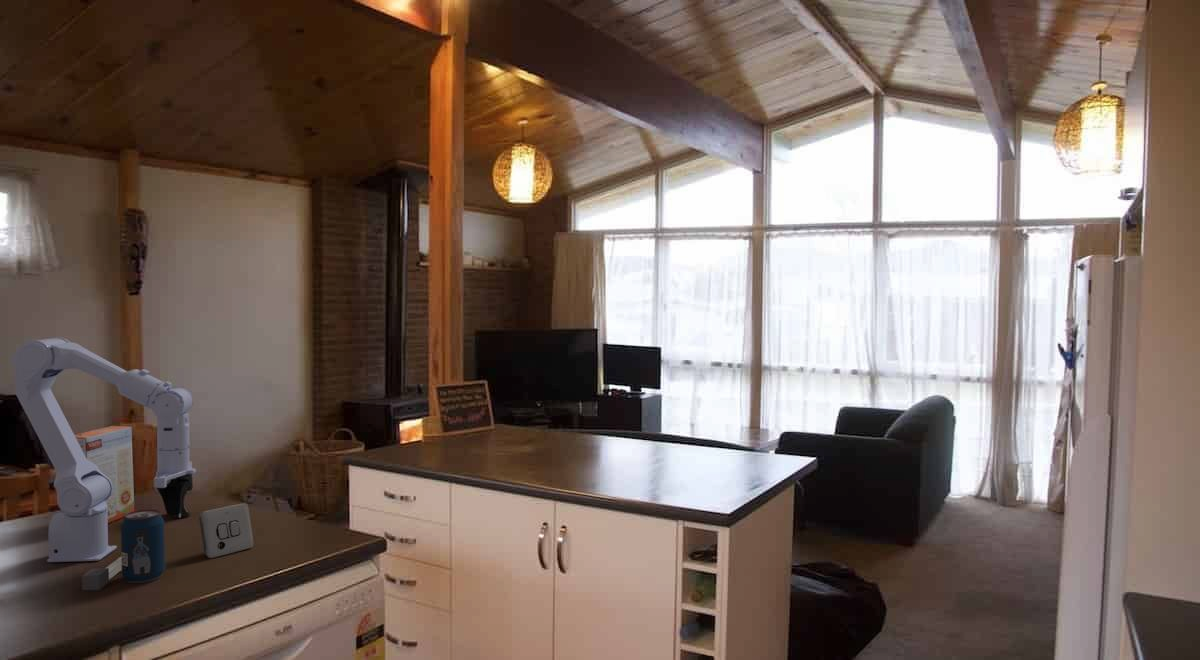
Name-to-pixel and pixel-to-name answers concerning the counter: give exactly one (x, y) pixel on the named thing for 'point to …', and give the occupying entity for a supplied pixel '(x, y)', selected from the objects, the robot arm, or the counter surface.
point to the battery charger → (184, 510)
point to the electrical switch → (226, 530)
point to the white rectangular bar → (100, 576)
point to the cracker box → (112, 465)
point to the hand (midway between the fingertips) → (174, 514)
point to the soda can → (142, 546)
